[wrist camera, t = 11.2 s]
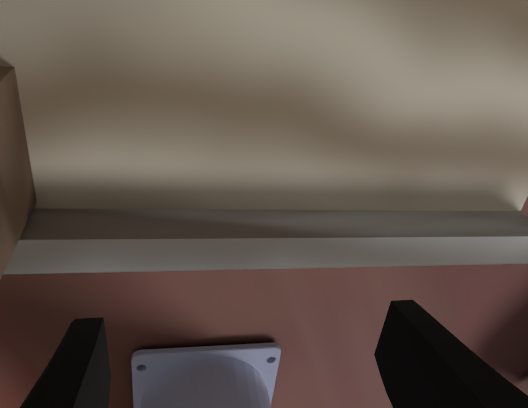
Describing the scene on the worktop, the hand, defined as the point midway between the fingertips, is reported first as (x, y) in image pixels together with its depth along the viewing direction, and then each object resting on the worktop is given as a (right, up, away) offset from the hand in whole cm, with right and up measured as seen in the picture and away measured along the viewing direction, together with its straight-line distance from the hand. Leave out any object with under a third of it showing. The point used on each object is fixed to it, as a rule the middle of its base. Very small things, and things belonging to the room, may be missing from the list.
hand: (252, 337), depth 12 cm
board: (-1, +8, +6) cm, 10 cm away
